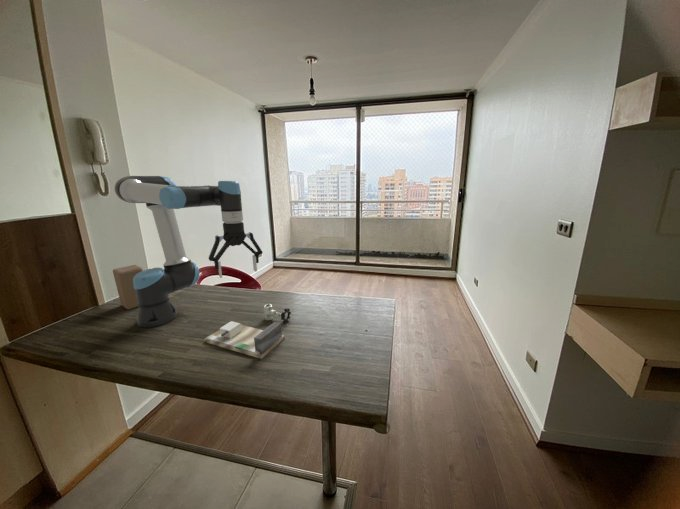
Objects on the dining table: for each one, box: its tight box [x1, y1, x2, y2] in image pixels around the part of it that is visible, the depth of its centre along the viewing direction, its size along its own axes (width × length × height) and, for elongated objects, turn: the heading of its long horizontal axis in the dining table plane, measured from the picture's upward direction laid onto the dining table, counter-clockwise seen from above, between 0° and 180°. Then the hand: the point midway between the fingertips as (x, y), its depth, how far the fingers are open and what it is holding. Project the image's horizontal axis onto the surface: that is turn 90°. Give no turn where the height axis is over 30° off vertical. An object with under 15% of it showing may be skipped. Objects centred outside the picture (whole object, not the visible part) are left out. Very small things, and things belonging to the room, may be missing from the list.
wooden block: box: [112, 264, 144, 310], centre depth 134 cm, size 10×10×20 cm
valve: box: [263, 303, 292, 324], centre depth 119 cm, size 7×7×12 cm
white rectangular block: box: [219, 320, 242, 339], centre depth 105 cm, size 5×9×4 cm, turn 157°
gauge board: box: [204, 321, 286, 360], centre depth 103 cm, size 28×14×7 cm, turn 67°
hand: (238, 273), depth 107 cm, fingers open, 13 cm apart
